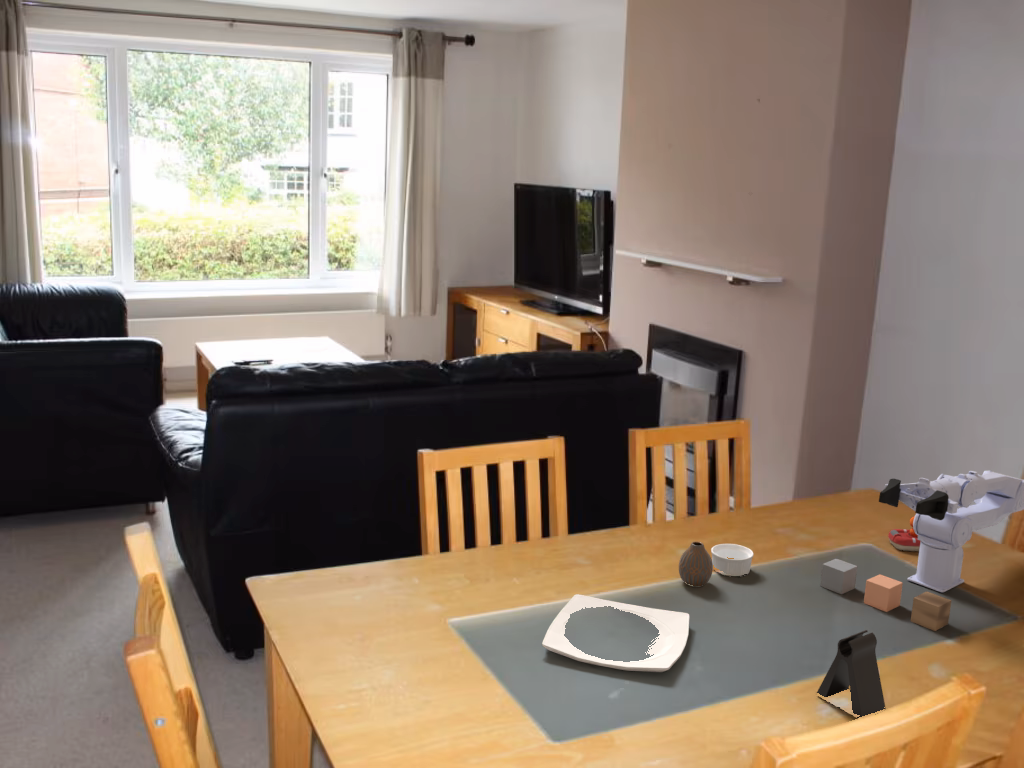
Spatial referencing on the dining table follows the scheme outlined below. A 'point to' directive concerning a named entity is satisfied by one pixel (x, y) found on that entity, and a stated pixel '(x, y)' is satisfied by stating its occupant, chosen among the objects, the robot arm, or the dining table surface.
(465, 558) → the dining table surface
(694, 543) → the vase
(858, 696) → the phone stand
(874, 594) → the terracotta block
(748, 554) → the ramekin
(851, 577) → the slate block
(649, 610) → the plate
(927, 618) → the walnut block
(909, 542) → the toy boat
